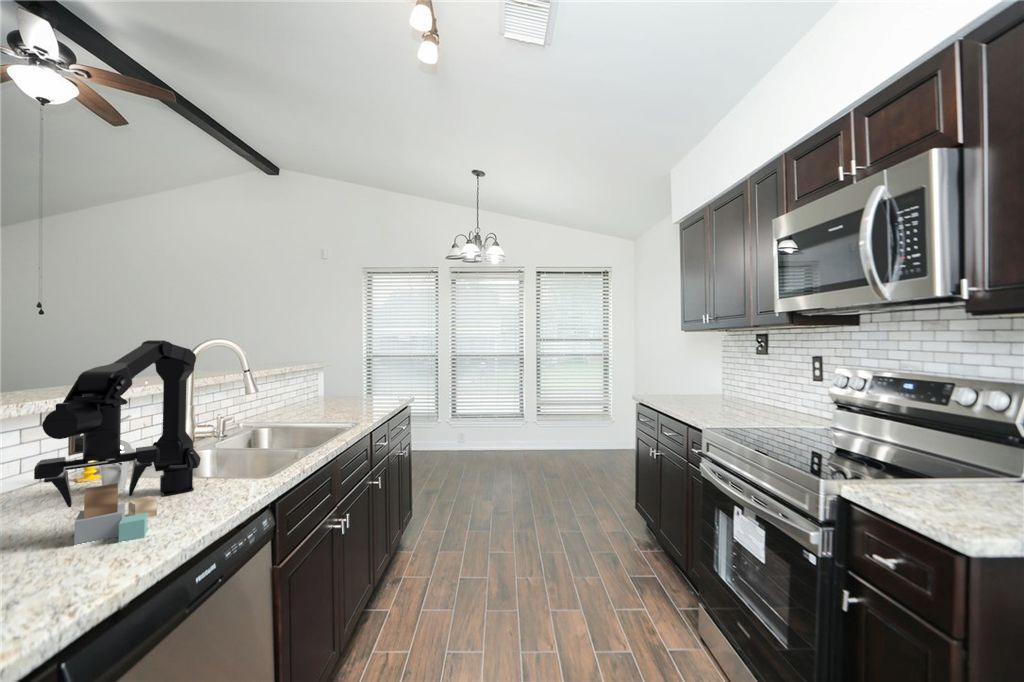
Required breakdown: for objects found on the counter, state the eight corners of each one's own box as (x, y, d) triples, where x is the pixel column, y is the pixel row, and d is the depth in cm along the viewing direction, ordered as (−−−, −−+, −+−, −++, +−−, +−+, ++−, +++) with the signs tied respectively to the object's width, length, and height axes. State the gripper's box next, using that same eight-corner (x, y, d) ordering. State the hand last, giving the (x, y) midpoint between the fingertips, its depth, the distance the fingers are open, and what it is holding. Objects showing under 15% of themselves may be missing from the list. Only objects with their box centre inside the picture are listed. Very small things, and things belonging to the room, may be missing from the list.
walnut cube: (117, 505, 92) (117, 483, 92) (117, 512, 88) (117, 488, 88) (85, 511, 88) (85, 488, 88) (84, 518, 85) (84, 494, 85)
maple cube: (149, 512, 100) (149, 495, 100) (156, 515, 98) (157, 499, 98) (128, 518, 97) (128, 501, 97) (135, 522, 95) (135, 504, 95)
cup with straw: (85, 493, 112) (86, 420, 112) (124, 482, 121) (125, 414, 121) (105, 496, 110) (106, 422, 110) (144, 485, 118) (145, 416, 118)
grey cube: (124, 525, 93) (124, 503, 93) (121, 536, 88) (121, 513, 88) (80, 534, 89) (80, 511, 89) (74, 546, 83) (74, 521, 83)
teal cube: (147, 531, 90) (147, 512, 90) (144, 538, 87) (144, 519, 87) (122, 535, 88) (123, 517, 88) (118, 543, 85) (118, 523, 85)
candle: (87, 476, 126) (88, 426, 126) (106, 476, 126) (106, 425, 126) (70, 482, 120) (71, 429, 120) (89, 482, 121) (90, 429, 121)
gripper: (156, 418, 101) (155, 481, 101) (41, 428, 88) (39, 501, 88) (160, 424, 93) (159, 493, 93) (34, 437, 80) (33, 518, 80)
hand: (101, 500), depth 88 cm, fingers open, 9 cm apart
